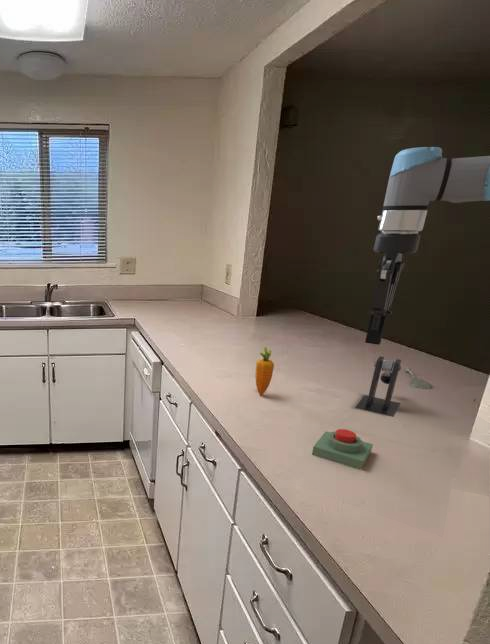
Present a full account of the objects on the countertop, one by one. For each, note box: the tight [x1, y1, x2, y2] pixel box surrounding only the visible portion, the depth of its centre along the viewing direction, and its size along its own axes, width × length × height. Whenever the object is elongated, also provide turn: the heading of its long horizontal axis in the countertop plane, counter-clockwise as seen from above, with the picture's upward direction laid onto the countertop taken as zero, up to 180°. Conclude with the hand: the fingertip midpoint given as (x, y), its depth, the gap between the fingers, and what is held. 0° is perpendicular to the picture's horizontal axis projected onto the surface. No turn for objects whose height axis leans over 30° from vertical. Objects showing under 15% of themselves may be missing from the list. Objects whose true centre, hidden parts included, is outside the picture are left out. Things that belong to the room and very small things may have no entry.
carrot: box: [255, 346, 275, 396], centre depth 131 cm, size 5×5×15 cm
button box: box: [311, 430, 374, 470], centre depth 100 cm, size 10×10×4 cm
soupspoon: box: [404, 366, 433, 390], centre depth 143 cm, size 22×3×7 cm
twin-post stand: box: [354, 355, 402, 418], centre depth 120 cm, size 12×9×15 cm
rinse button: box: [335, 428, 357, 443], centre depth 99 cm, size 4×4×2 cm
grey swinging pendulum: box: [380, 359, 395, 385], centre depth 123 cm, size 13×4×4 cm
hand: (372, 342), depth 98 cm, fingers closed
